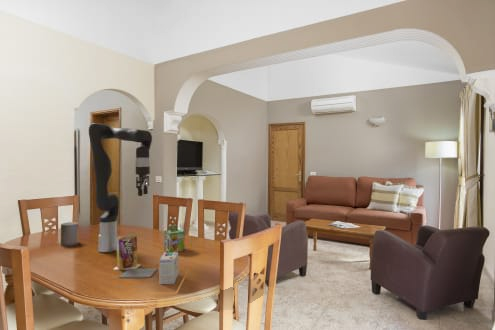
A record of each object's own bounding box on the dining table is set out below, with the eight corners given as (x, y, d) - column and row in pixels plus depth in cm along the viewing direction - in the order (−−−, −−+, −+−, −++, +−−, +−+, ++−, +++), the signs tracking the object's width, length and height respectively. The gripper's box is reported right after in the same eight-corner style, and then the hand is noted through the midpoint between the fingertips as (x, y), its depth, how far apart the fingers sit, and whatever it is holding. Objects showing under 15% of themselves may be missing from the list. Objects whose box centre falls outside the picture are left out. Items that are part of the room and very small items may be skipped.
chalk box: (170, 254, 171) (170, 228, 171) (163, 250, 178) (163, 225, 178) (185, 250, 177) (185, 225, 177) (178, 247, 184) (177, 223, 184)
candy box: (134, 263, 154) (134, 234, 154) (137, 265, 151) (137, 235, 151) (116, 267, 149) (116, 236, 148) (119, 269, 145) (118, 238, 145)
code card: (112, 269, 146) (112, 269, 146) (118, 264, 153) (118, 264, 153) (135, 269, 146) (135, 269, 146) (140, 264, 153) (140, 264, 153)
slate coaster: (119, 277, 136) (119, 276, 136) (127, 270, 146) (127, 268, 146) (150, 277, 136) (150, 276, 136) (156, 269, 146) (156, 268, 146)
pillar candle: (57, 246, 189) (56, 222, 189) (71, 242, 198) (71, 219, 198) (68, 247, 185) (67, 223, 185) (82, 243, 194) (81, 220, 194)
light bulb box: (163, 275, 139) (163, 251, 139) (178, 274, 139) (178, 251, 139) (158, 284, 128) (158, 259, 128) (174, 283, 129) (174, 258, 129)
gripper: (140, 165, 175) (140, 193, 175) (131, 166, 160) (131, 196, 160) (153, 165, 175) (153, 193, 175) (145, 166, 160) (145, 196, 160)
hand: (142, 195), depth 168 cm, fingers open, 8 cm apart
